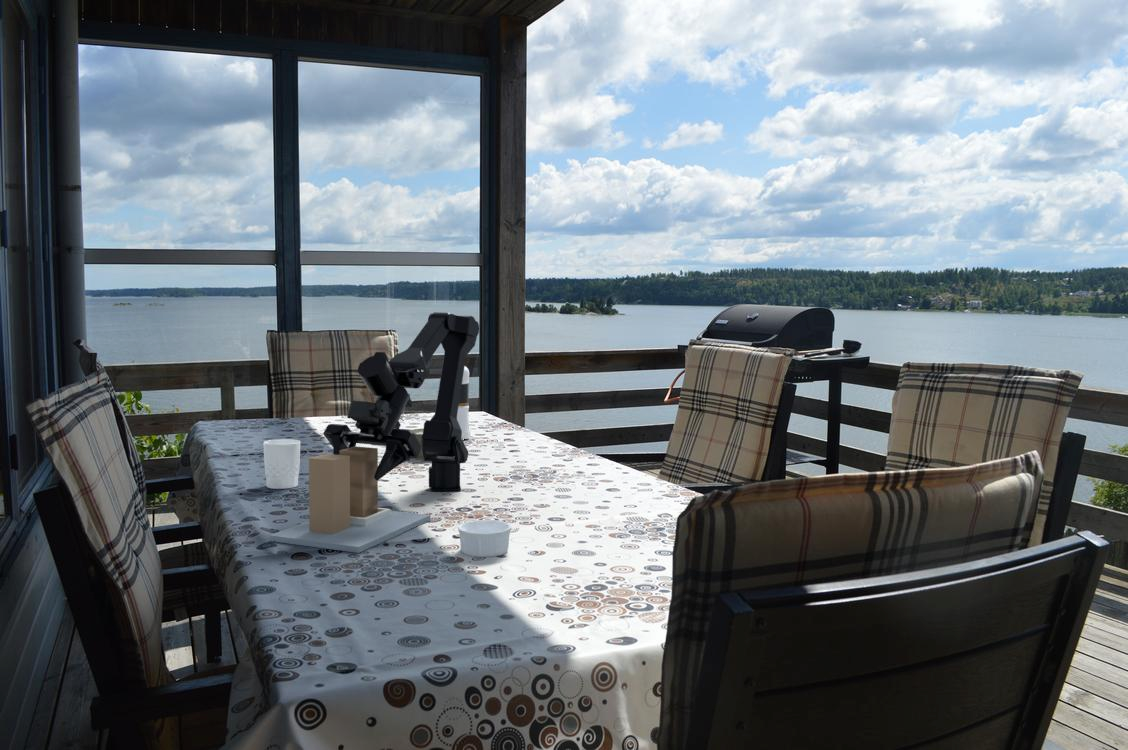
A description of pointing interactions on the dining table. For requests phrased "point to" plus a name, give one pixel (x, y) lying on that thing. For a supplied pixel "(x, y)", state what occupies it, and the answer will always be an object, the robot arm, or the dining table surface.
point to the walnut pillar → (362, 480)
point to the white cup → (282, 463)
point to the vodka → (464, 406)
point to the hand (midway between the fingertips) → (354, 476)
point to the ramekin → (484, 538)
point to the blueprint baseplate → (353, 533)
